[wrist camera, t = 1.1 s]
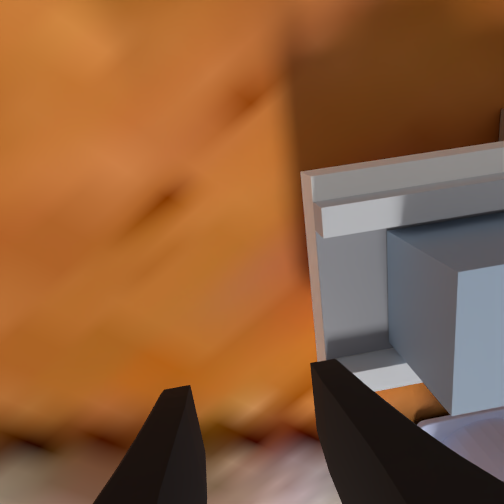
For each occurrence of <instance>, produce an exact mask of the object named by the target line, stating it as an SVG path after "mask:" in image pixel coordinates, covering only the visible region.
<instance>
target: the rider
mask: <svg viewBox="0 0 504 504" xmlns="http://www.w3.org/2000/svg"><path fill="white" fill-rule="evenodd" d="M387 270H388V323H389V343H390V344H391V345H392V346H393V347H394V349H395V350H396V351H397V352H398V353H399V355H400V356H401V357H402V358H403V359H404V360H405V362H406V363H407V364H408V365H409V366H410V368H411V369H412V370H413V371H414V372H415V374H416V375H417V376H418V377H419V378H420V379H421V381H422V382H423V383H424V384H425V385H426V387H427V388H428V389H429V390H430V391H431V393H432V394H433V395H434V396H435V397H436V398H437V400H438V401H439V402H440V403H441V404H442V406H443V407H444V408H445V409H446V410H447V411H448V413H449V414H450V415H451V416H455V415H461V414H466V413H471V412H476V411H481V410H486V409H491V408H496V407H501V406H504V212H500V213H493V214H487V215H481V216H475V217H469V218H463V219H457V220H451V221H444V222H438V223H432V224H426V225H420V226H414V227H408V228H401V229H395V230H389V231H387Z"/></svg>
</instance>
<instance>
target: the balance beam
mask: <svg viewBox="0 0 504 504" xmlns="http://www.w3.org/2000/svg"><path fill="white" fill-rule="evenodd" d="M300 174H301V185H302V196H303V207H304V218H305V229H306V240H307V251H308V262H309V273H310V284H311V295H312V306H313V316H314V327H315V338H316V349H317V360H318V362H319V361H324V360H330V359H336V360H338V361H339V362H340V363H342V364H343V365H344V366H345V367H346V368H347V369H348V370H349V371H351V372H352V373H353V374H354V375H355V376H356V377H357V378H359V379H360V380H361V381H362V382H363V383H364V384H366V385H367V386H368V387H369V388H370V389H372V390H373V391H374V392H375V391H380V390H385V389H391V388H396V387H401V386H406V385H412V384H417V383H422V381H421V379H420V378H419V377H418V376H417V375H416V374H415V372H414V371H413V370H412V369H411V368H410V366H409V365H408V364H407V363H406V362H405V360H404V359H403V358H402V357H401V356H400V355H399V353H398V352H397V351H396V350H395V349H394V347H393V346H392V345H391V344H390V343H389V323H388V270H387V231H389V230H395V229H401V228H408V227H414V226H420V225H426V224H432V223H438V222H444V221H451V220H457V219H463V218H469V217H475V216H481V215H487V214H493V213H500V212H504V109H501V117H500V130H499V142H493V143H486V144H480V145H473V146H467V147H460V148H453V149H447V150H440V151H433V152H427V153H420V154H414V155H407V156H400V157H394V158H387V159H380V160H374V161H367V162H361V163H354V164H347V165H341V166H334V167H327V168H321V169H314V170H308V171H301V172H300Z"/></svg>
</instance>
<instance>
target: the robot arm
mask: <svg viewBox="0 0 504 504" xmlns="http://www.w3.org/2000/svg"><path fill="white" fill-rule="evenodd" d="M310 365H311V375H312V385H313V395H314V405H315V416H316V426H317V432H318V436H319V439H320V442H321V446H322V449H323V453H324V456H325V459H326V462H327V466H328V469H329V472H330V475H331V477H332V480H333V482H334V485H335V487H336V490H337V492H338V494H339V497H340V499H341V502H342V504H504V406H501V407H496V408H491V409H486V410H481V411H476V412H471V413H466V414H461V415H455V416H451V415H448V416H442V417H437V418H432V419H427V420H423V421H420V422H419V423H418V424H417V425H416V424H415V423H413V422H412V421H411V420H409V419H408V418H407V417H405V416H404V415H403V414H402V413H400V412H399V411H398V410H396V409H395V408H394V407H393V406H391V405H390V404H389V403H387V402H386V401H385V400H384V399H382V398H381V397H380V396H379V395H378V394H376V393H375V392H374V391H373V390H372V389H370V388H369V387H368V386H367V385H366V384H364V383H363V382H362V381H361V380H360V379H359V378H357V377H356V376H355V375H354V374H353V373H352V372H351V371H349V370H348V369H347V368H346V367H345V366H344V365H343V364H342V363H340V362H339V361H338V360H336V359H330V360H324V361H319V362H313V363H310ZM93 504H207V482H206V457H205V449H204V444H203V440H202V435H201V431H200V427H199V422H198V418H197V413H196V409H195V404H194V400H193V395H192V391H191V387H190V385H188V386H182V387H177V388H171V389H166V390H164V391H163V392H162V393H161V395H160V397H159V398H158V400H157V402H156V404H155V406H154V407H153V409H152V411H151V413H150V414H149V416H148V418H147V420H146V421H145V423H144V425H143V427H142V428H141V430H140V432H139V433H138V435H137V437H136V439H135V440H134V442H133V443H132V445H131V447H130V448H129V450H128V451H127V453H126V455H125V456H124V458H123V459H122V461H121V463H120V464H119V466H118V467H117V469H116V470H115V472H114V474H113V475H112V477H111V478H110V479H109V481H108V482H107V484H106V485H105V487H104V488H103V490H102V491H101V493H100V494H99V495H98V497H97V498H96V500H95V501H94V503H93Z"/></svg>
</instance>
